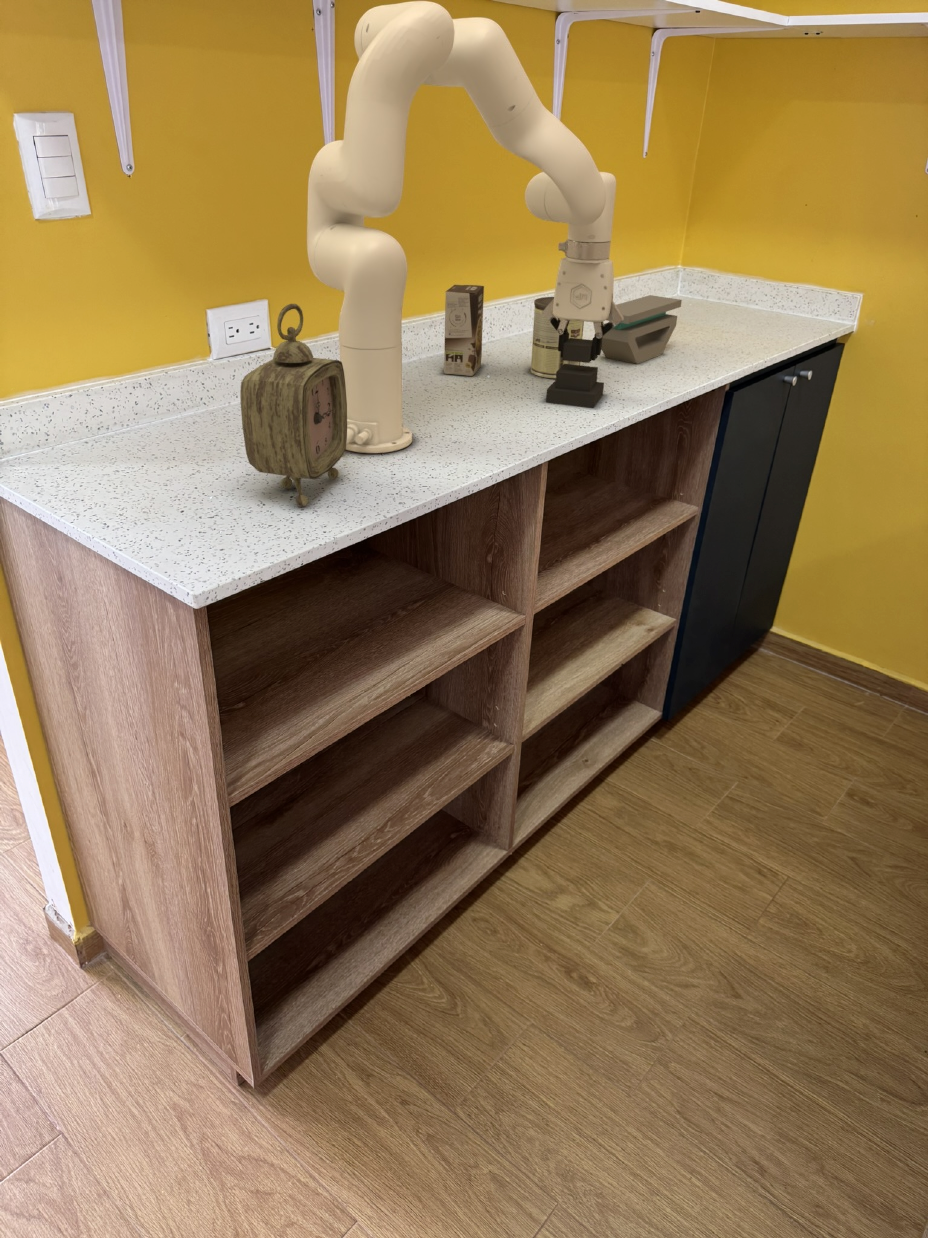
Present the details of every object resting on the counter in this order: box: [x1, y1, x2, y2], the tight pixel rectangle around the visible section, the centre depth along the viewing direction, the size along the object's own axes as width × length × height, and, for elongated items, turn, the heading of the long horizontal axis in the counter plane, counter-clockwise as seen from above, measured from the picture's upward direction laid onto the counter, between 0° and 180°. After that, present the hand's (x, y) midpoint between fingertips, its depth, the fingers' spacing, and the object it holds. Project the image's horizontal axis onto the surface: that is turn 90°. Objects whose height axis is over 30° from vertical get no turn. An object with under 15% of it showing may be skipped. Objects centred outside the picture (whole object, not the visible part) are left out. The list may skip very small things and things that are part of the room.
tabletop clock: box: [239, 303, 347, 507], centre depth 117 cm, size 14×9×25 cm, turn 164°
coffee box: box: [443, 284, 485, 377], centre depth 178 cm, size 9×6×16 cm
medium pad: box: [555, 364, 599, 392], centre depth 164 cm, size 6×6×3 cm
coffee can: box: [530, 296, 585, 379], centre depth 179 cm, size 10×10×14 cm
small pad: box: [563, 338, 593, 364], centre depth 162 cm, size 5×5×3 cm
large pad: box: [545, 379, 605, 409], centre depth 165 cm, size 9×9×2 cm
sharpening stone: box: [601, 294, 683, 365], centre depth 193 cm, size 25×8×11 cm, turn 143°
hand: (578, 356), depth 162 cm, fingers closed on small pad, 5 cm apart
